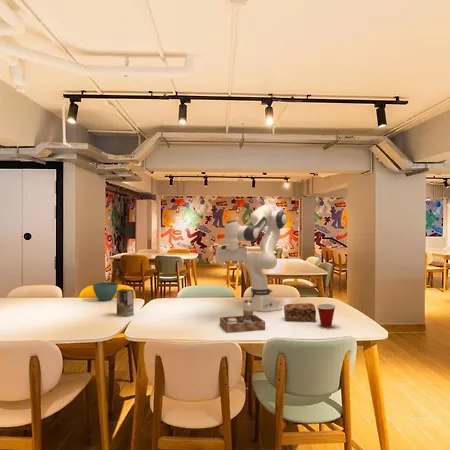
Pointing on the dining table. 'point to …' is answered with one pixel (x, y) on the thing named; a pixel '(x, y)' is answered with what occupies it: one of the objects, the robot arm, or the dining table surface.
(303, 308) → the bread
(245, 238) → the robot arm
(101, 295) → the teal bowl
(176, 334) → the dining table surface
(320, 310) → the plastic cup
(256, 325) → the crate
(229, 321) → the jar
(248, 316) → the canister
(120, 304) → the coffee box
